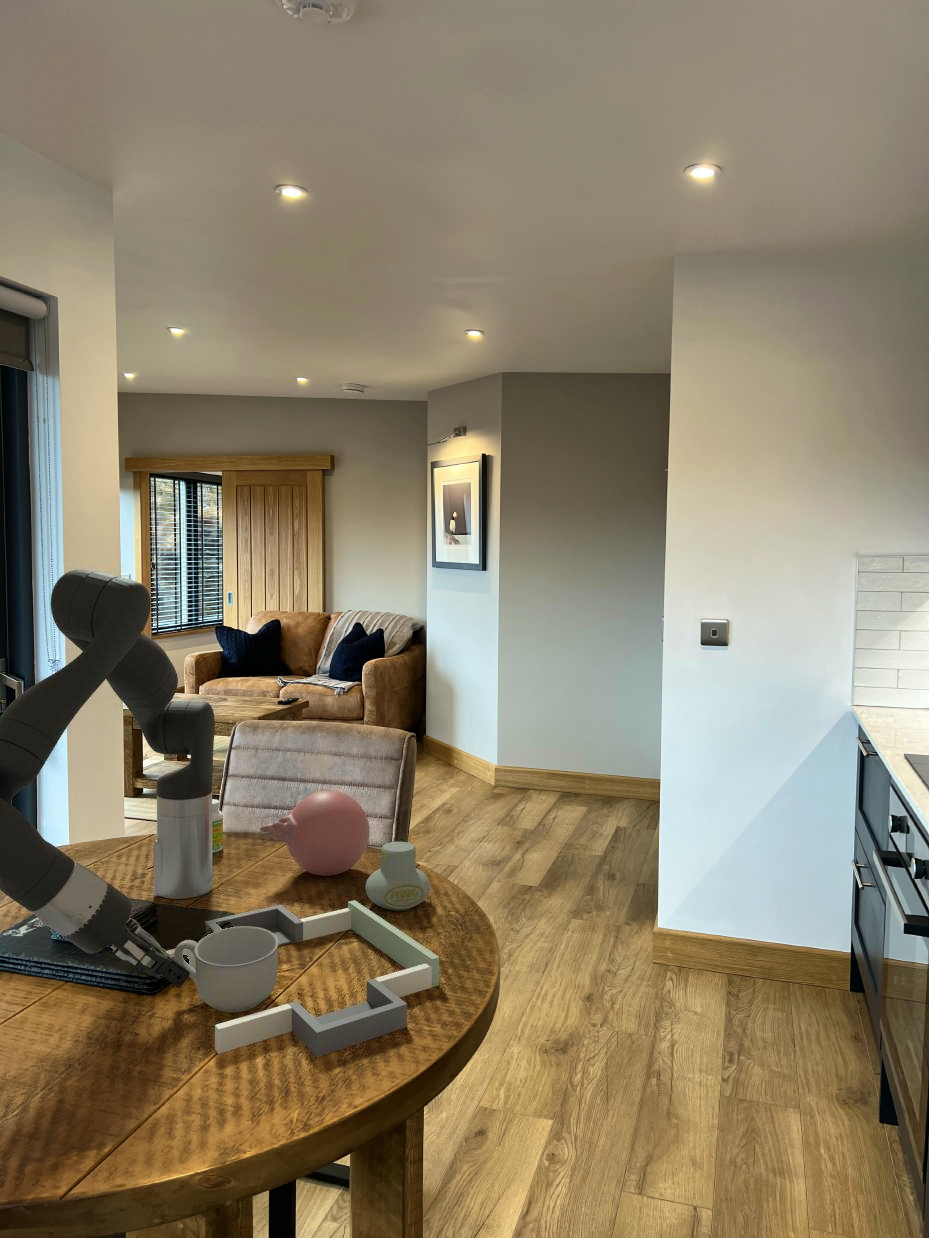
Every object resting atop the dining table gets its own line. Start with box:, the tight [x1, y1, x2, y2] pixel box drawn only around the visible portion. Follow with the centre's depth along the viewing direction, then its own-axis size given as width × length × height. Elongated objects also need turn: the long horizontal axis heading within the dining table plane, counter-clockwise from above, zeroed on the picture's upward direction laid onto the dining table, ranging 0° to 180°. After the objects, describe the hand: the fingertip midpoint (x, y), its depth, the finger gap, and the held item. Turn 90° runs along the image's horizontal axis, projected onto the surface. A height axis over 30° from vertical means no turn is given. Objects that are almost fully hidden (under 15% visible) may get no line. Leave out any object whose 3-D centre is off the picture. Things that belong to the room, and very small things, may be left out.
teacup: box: [174, 926, 280, 1014], centre depth 118 cm, size 14×11×8 cm
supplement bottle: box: [212, 798, 224, 854], centre depth 179 cm, size 5×5×10 cm
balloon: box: [259, 789, 371, 877], centre depth 165 cm, size 15×20×15 cm
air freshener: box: [365, 841, 431, 912], centre depth 152 cm, size 11×8×10 cm
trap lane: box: [166, 900, 440, 1058], centre depth 124 cm, size 31×38×4 cm
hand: (183, 978), depth 115 cm, fingers closed
